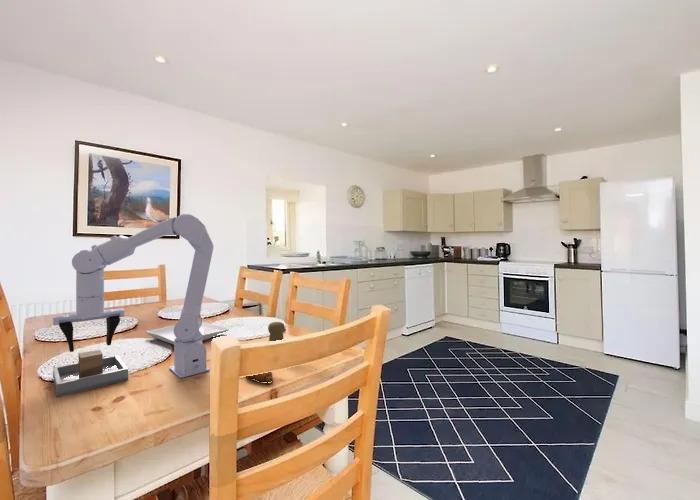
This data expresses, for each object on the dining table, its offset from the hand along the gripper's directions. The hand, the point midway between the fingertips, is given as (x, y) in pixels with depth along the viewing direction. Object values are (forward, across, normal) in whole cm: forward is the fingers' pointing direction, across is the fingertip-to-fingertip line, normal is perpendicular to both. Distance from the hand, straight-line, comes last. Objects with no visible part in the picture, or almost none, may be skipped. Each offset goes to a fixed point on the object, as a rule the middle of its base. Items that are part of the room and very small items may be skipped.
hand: (90, 347), depth 86 cm
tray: (+8, 0, 0) cm, 8 cm away
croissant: (+9, -33, +28) cm, 44 cm away
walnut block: (+8, 0, 0) cm, 8 cm away
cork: (+9, -45, +18) cm, 49 cm away
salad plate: (+9, -32, -22) cm, 40 cm away
